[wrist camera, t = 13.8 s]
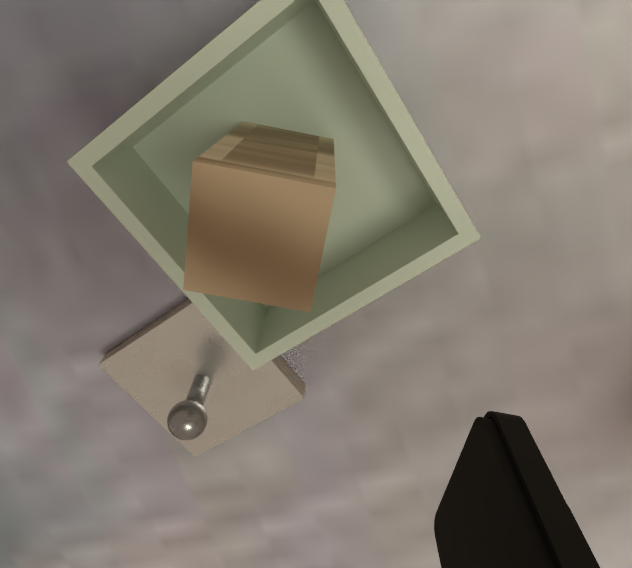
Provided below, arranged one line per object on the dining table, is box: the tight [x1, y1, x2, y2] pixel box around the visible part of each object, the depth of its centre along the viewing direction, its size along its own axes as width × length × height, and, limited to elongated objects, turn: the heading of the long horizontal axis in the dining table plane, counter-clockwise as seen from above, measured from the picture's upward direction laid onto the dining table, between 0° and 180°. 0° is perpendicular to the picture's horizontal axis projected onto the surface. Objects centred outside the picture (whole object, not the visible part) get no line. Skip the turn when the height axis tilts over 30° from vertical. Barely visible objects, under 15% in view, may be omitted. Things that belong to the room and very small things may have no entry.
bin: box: [67, 0, 481, 370], centre depth 25 cm, size 14×14×6 cm
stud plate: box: [99, 299, 305, 457], centre depth 31 cm, size 10×10×6 cm
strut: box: [183, 121, 336, 312], centre depth 23 cm, size 5×5×11 cm
